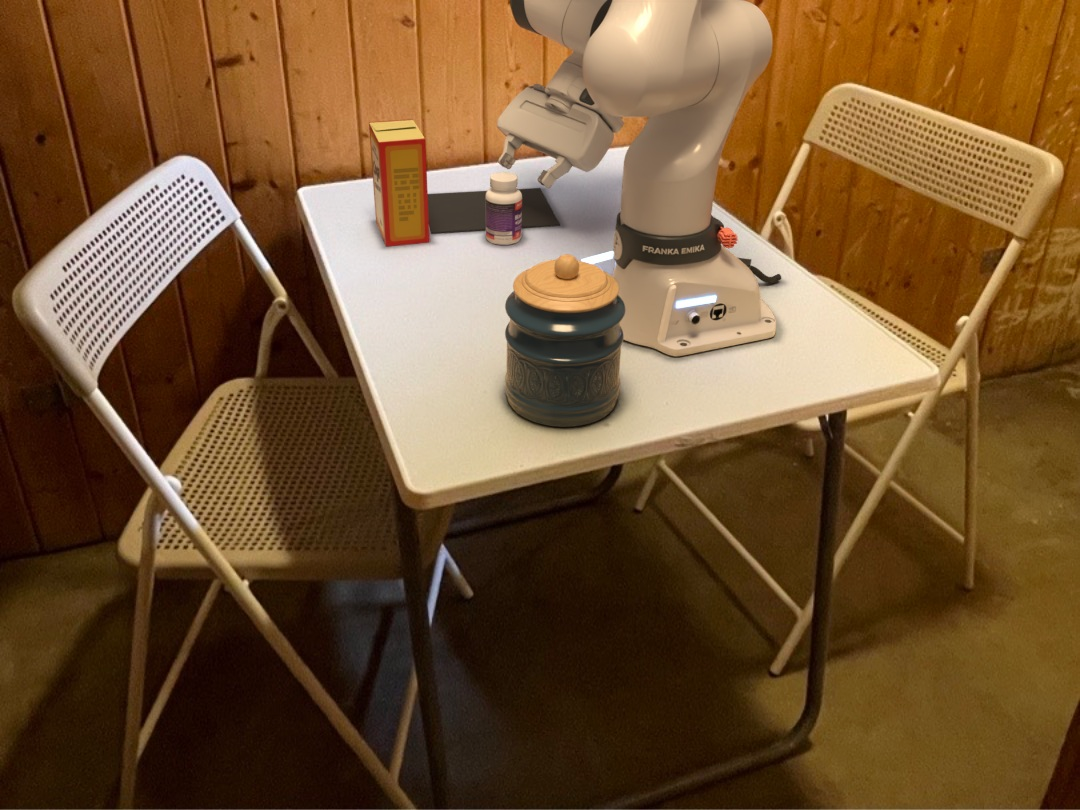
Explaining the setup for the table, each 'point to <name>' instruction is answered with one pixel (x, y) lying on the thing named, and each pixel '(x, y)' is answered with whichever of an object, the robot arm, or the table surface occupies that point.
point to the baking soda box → (400, 181)
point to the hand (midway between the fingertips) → (522, 175)
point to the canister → (564, 343)
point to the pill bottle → (503, 209)
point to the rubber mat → (483, 211)
